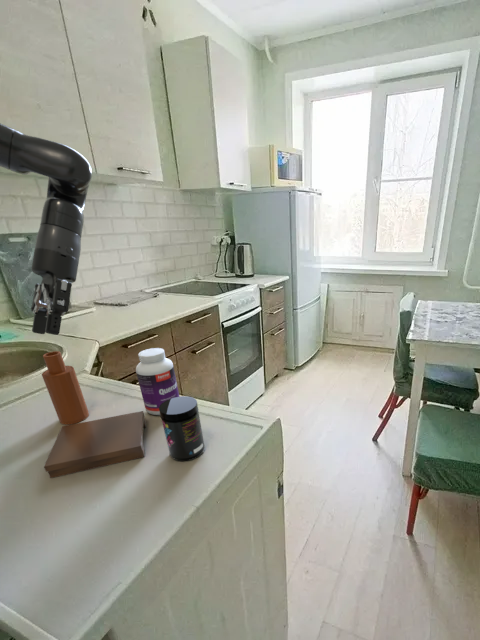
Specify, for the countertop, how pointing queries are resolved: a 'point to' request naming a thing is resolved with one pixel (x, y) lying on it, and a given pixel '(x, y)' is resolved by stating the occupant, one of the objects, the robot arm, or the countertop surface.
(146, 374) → the pill bottle
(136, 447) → the brown wooden box
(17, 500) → the countertop surface
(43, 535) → the countertop surface
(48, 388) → the bottle
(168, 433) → the supplement container
